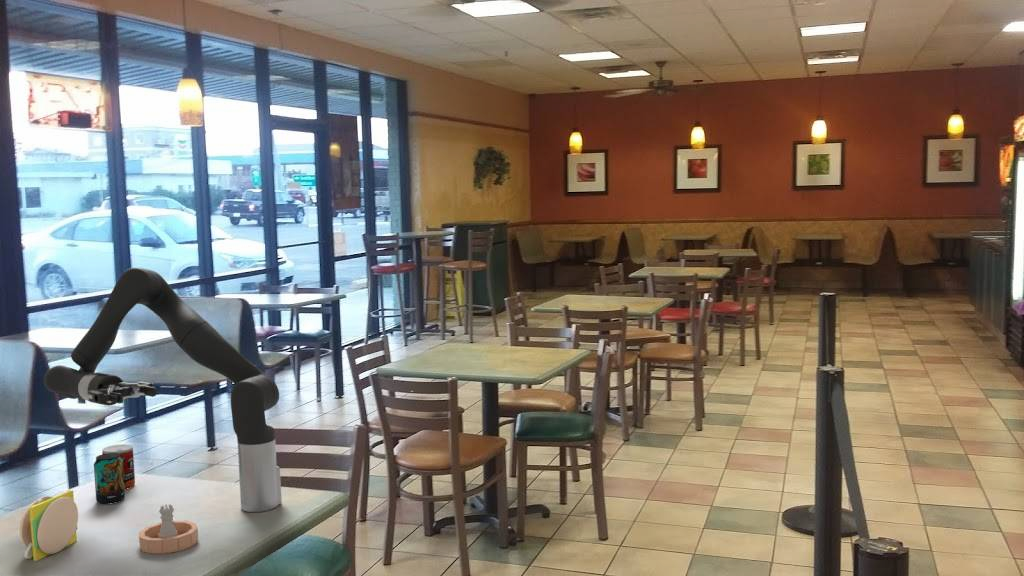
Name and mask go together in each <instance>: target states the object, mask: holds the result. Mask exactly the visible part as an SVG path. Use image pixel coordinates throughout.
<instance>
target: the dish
mask: <svg viewBox="0 0 1024 576" xmlns="http://www.w3.org/2000/svg"><path fill="white" fill-rule="evenodd" d="M161 523H162V522H157V523H154V524H152V525H149V526H146V527H144V528H143V529H141V530H139V532H138V539H139V540H138V542H139V549H141V550H142V551H144V552H146V553H145V554H148V553H152V554H151V555H165V554H167V553H168V554H173V553H172V552H174V553H177V551H178V552H182V551H185V550H187V549H189V548H191V547H193V546H195V545H196V544H197V543H198V541H199V530H198V524H197V523H196V522H193V521H189V520H173V523H174V527H175V528H176V530H177V531H178V534H177V535H178V536H175V537H168V538H159V537H158V534H159V533H160V530H161ZM141 550H140V551H141ZM181 550H182V551H181ZM142 551H141V552H142ZM144 552H143V553H144ZM168 554H167V555H168Z"/></svg>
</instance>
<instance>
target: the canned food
mask: <svg viewBox="0 0 1024 576" xmlns="http://www.w3.org/2000/svg"><path fill="white" fill-rule="evenodd" d="M101 453H102V454H108V453H117V454H120V458H121V459H122V460H123V471H124V486H125V489H126V490H128V489H127V488H130V487H132V486H133V487H135V483H136V474H135V457H134V447H133V445H131V444H124V443H123V444H114V445H109V446H106V447H104V448H102V452H101ZM102 454H101V455H102ZM133 487H132V488H133ZM130 489H131V488H130Z"/></svg>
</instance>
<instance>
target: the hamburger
mask: <svg viewBox="0 0 1024 576" xmlns="http://www.w3.org/2000/svg"><path fill="white" fill-rule="evenodd" d="M74 499H75V497H74V490H71V489H70V490H68V491H66V492H63V493H60V494H59V495H55V496H43V497H40V498H38V499H36V500H35V501H33V502H32V503H31V504H30V505H29V506H28V507H27V508H26V509H25V511H24V513H23V515H22V518H21V520H20V525H19V537H20V540H21V541H22V543H23V545H24V546H25V547H26V550H25V552H24V558H25V559H27V560H31V558H33V561H34V562H36V561H39V560H41V559H43V558H45V557H48V556H49V555H53V554H54V555H55V554H57V553H59V552H61V551H62V550H64V548H66V547H68V546H70V545H72V544H74V543H76V542H78V540H77V539H78V537H77V530H78V523H79V511H78V506H77V504H76V502H75V500H74ZM75 541H76V542H75ZM73 542H74V543H73ZM67 545H68V546H67ZM65 546H66V547H65Z"/></svg>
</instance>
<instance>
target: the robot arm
mask: <svg viewBox="0 0 1024 576" xmlns="http://www.w3.org/2000/svg"><path fill="white" fill-rule="evenodd" d="M137 304H138V305H143V306H145V307H146V308H147V309H149V310H151V311H152V312H153V313H154V314H155V315H157V317H159V319H161V320H162V321H163V323H164V324H165V326H166V327H167V330H168V331H169V333H170V335H171V337H172V339H173V340H174V342H175V344H176V345H177V346H178V347H179V348H180V349H181V350H182V351H183V352H184V353H185V354H186V355H187V356H189V358H190V359H192V360H193V361H194V362H196V363H197V364H199V365H201V366H203V367H205V368H206V369H209V370H211V371H213V372H216V373H217V374H220V375H221V376H223V377H225V378H227V379H228V380H229V381H230V382H232V383H233V384H234V386H233V387H232V390H231V392H230V408H231V409H230V412H231V418H232V428H233V431H234V433H235V435H236V438H237V439H236V441H237V454H238V455H237V456H238V475H239V476H238V477H239V478H238V479H239V494H240V509H241V510H242V511H244V512H247V513H248V512H249V513H259V512H266V511H269V510H273V509H275V508H277V507H278V506H279V505H280V504H283V502H282V486H281V485H282V484H281V482H282V481H281V468H280V466H278V465H277V449H276V430H275V428H274V426H272V425H268V424H267V422H266V421H267V420H266V414H265V413H266V411H268V410H271V409H272V408H274V407H275V406H276V405H277V404H278V402H279V400H280V389H279V388H278V385H277V383H276V382H275V380H273V379H272V378H271V377H270V376H269V375H267V374H266V373H265V372H264V371H262V370H261V369H260V368H258V367H257V366H256V365H254V364H253V363H252V362H250V361H249V359H247V358H246V357H244V356H243V354H242V353H240V352H239V350H237V349H236V348H235V347H234V346H232V344H231V343H229V342H228V341H227V340H226V339H225V338H224V337H223V336H222V335H221V334H220V333H219V332H218V330H216V329H215V328H214V327H213V326H212V325H211V324H210V323H209V322H208V321H207V320H205V319H204V318H203V317H202V316H201V315H200V314H199V313H197V312H196V311H195V309H193V308H192V307H191V306H190V305H188V304H187V303H186V302H185V301H184V300H182V298H181V297H180V296H179V295H178V294H177V293H176V291H175V290H174V289H173V288H172V287H171V286H170V285H169V283H168V281H166V280H165V279H164V277H163V276H162V275H160V273H158V272H156V271H155V270H152V269H148V268H147V269H146V268H143V267H138V266H137V267H130V268H128V269H126V270H125V271H123V272H122V274H121V275H120V276H119V278H118V279H117V282H116V283H115V285H114V287H113V289H112V291H111V293H110V294H109V296H108V298H107V300H106V302H105V303H104V305H103V307H102V309H101V311H100V312H99V314H98V316H97V317H96V319H95V320H94V322H93V324H91V326H90V328H89V329H88V330H87V332H86V333H85V335H84V336H83V337H82V338H81V340H80V341H79V342H78V344H76V346H75V347H74V349H72V352H71V354H70V358H71V361H72V362H74V363H75V364H76V365H77V366H78V367H79V369H75V368H72V367H69V366H66V365H61V364H60V365H59V364H57V365H55V366H52V367H51V368H49V369H48V370H47V371H46V372H45V374H44V376H43V384H44V386H45V388H46V390H48V391H50V392H51V393H54V394H57V395H59V396H63V397H65V398H68V399H73V400H76V399H79V400H84V401H87V402H89V403H94V404H98V405H104V406H114V405H116V404H124V400H126V399H127V398H128V399H130V398H131V399H132V398H139V397H140V396H147V397H150V398H151V397H156V396H157V387H154V383H153V382H146V381H142V380H141V381H140V380H139V381H138V380H137V381H136V382H127V381H123V379H122V378H121V377H119V376H118V375H114V374H109V373H103V372H96V369H97V368H98V365H99V364H100V362H101V361H102V360H103V359H104V357H106V355H107V353H109V351H110V350H111V348H112V346H113V345H114V343H115V341H116V338H117V336H118V333H119V329H120V326H121V324H122V323H123V320H124V318H125V317H127V314H128V313H129V312H130V311H131V310H132V309H133V308H135V306H136V305H137ZM133 392H134V394H133Z"/></svg>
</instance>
